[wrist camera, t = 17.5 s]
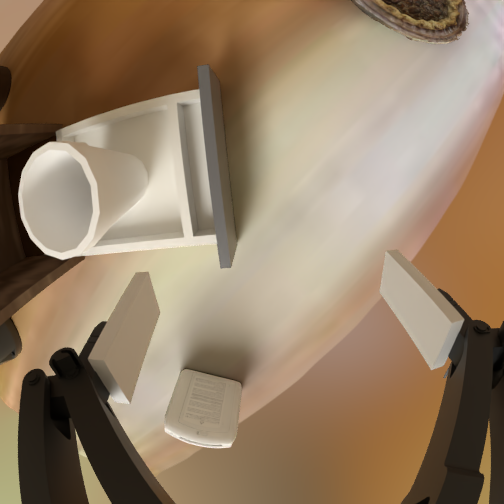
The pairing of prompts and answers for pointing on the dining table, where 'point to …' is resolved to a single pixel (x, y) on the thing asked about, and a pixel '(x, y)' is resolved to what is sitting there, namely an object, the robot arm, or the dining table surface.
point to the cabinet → (7, 233)
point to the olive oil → (4, 84)
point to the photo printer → (204, 410)
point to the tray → (170, 170)
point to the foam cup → (77, 195)
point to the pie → (420, 18)
